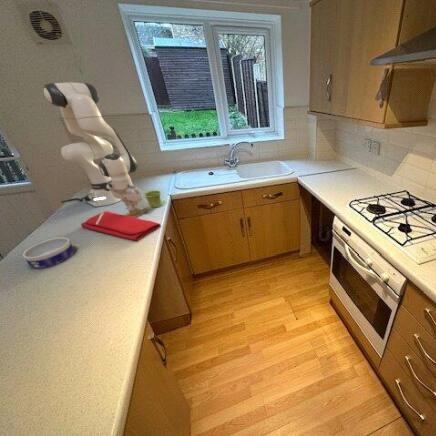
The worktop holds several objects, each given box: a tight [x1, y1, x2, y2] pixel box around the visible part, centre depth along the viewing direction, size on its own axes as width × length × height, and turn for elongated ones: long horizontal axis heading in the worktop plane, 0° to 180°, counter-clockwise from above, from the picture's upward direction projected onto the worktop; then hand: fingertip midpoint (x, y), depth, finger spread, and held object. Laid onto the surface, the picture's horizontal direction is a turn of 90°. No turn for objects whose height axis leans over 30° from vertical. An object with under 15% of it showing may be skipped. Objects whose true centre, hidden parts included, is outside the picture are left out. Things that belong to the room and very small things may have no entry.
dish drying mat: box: [80, 210, 161, 241], centre depth 128 cm, size 16×41×4 cm, turn 69°
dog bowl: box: [22, 237, 76, 270], centre depth 106 cm, size 15×15×6 cm
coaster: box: [123, 209, 147, 218], centre depth 143 cm, size 9×9×1 cm
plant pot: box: [143, 190, 163, 209], centre depth 150 cm, size 9×9×9 cm
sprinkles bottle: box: [122, 194, 139, 215], centre depth 140 cm, size 5×5×14 cm
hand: (131, 206), depth 140 cm, fingers open, 5 cm apart
